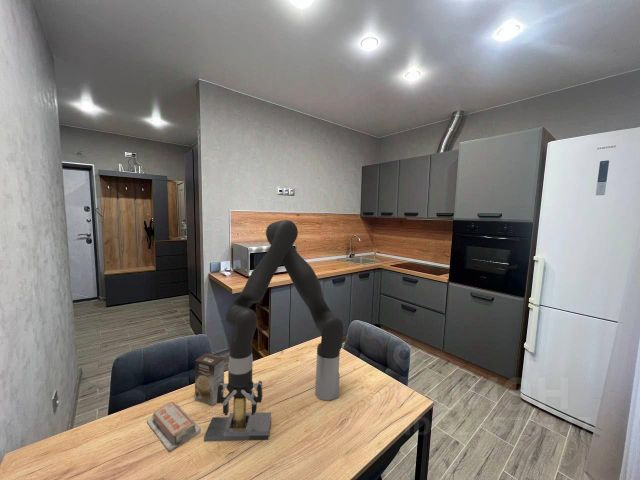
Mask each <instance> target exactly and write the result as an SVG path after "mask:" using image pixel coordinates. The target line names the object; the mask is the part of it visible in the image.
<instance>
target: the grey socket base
mask: <svg viewBox="0 0 640 480" xmlns="http://www.w3.org/2000/svg"><path fill="white" fill-rule="evenodd" d="M251 413H252V412H246V428H236V429H233V412H231V413H230V414H229V416H225V417H224V416H223V417H222V416H221V417H219V416H217V417H212V418H211V420H210V422H209V424H208V426H207V429H206V431H205V434H204V436H203V442H222V441H223V442H226V441H232V442H233V441H266V440H269V437H270V432H271V431H270V430H271V423H272V412H256V413H254V415H251Z"/></svg>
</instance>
